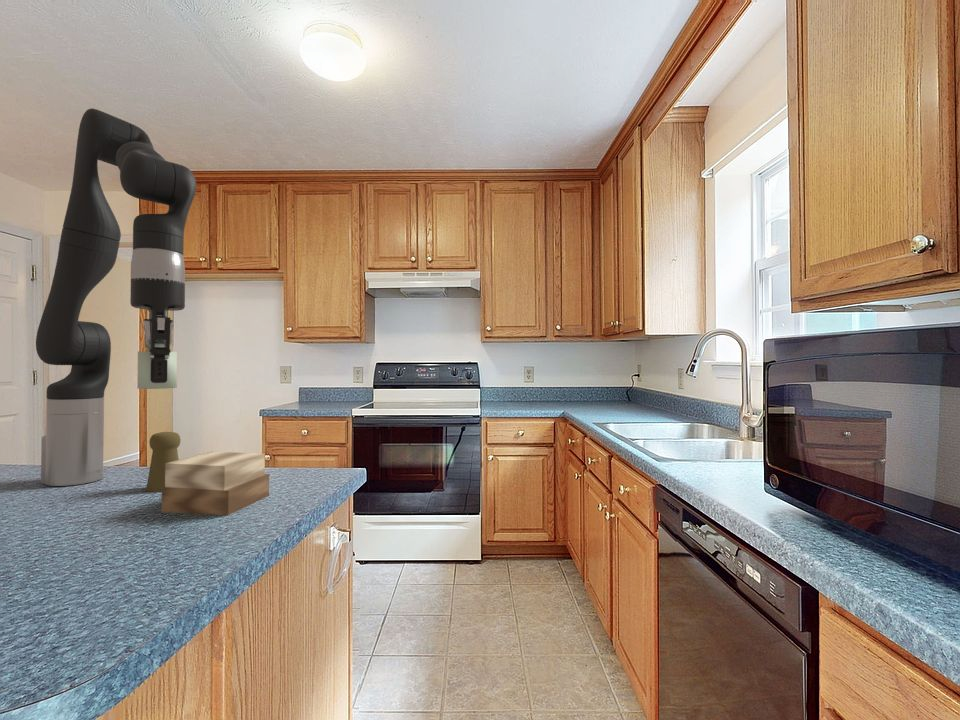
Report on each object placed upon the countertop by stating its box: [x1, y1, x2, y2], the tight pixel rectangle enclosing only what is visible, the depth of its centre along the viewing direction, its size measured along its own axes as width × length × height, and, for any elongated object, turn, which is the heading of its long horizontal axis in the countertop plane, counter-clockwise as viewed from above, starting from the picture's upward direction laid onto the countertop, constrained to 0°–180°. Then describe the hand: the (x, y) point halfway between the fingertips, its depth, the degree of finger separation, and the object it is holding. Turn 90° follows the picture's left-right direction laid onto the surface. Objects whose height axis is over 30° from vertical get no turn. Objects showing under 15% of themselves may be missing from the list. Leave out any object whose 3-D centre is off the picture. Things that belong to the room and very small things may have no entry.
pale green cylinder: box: [137, 350, 178, 390], centre depth 80 cm, size 5×5×6 cm
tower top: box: [165, 451, 266, 491], centre depth 86 cm, size 11×11×4 cm
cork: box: [145, 431, 181, 493], centre depth 96 cm, size 6×6×11 cm
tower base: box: [161, 473, 270, 516], centre depth 86 cm, size 12×12×4 cm
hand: (157, 381), depth 80 cm, fingers closed on pale green cylinder, 5 cm apart
